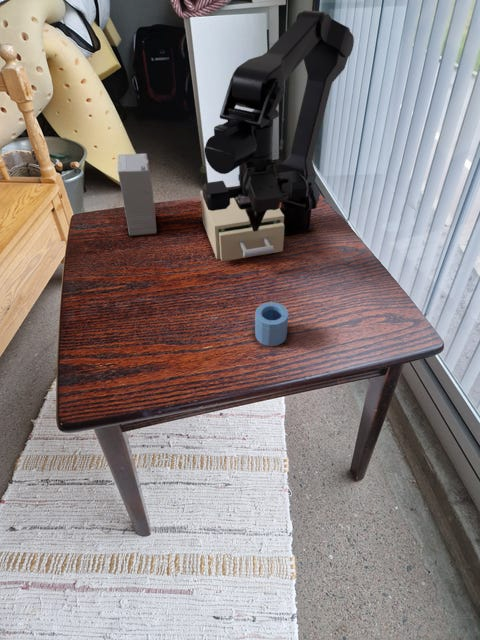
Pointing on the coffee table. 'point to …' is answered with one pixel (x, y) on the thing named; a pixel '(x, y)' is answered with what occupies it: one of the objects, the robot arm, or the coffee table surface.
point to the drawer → (251, 240)
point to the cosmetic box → (137, 193)
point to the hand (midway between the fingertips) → (254, 230)
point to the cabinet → (230, 220)
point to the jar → (271, 323)
